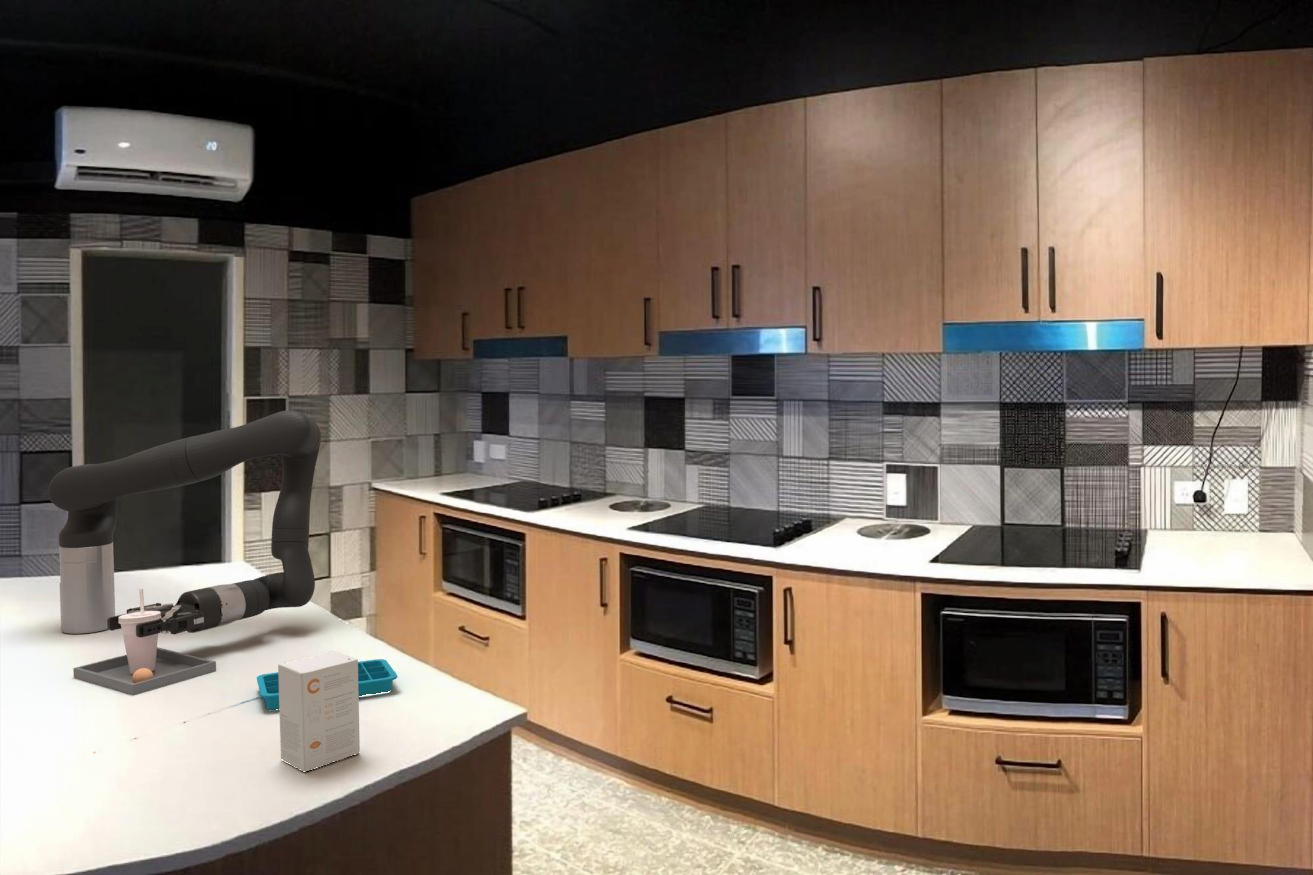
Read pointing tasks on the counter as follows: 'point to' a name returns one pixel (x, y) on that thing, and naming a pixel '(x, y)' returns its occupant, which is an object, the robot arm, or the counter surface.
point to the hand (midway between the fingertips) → (122, 627)
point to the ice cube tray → (370, 681)
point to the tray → (166, 671)
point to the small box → (319, 709)
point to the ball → (142, 675)
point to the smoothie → (137, 648)
